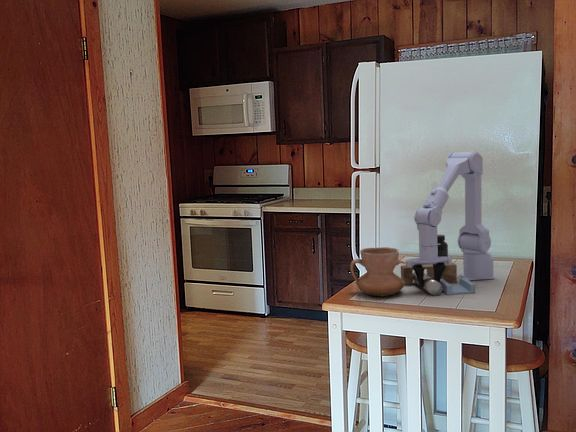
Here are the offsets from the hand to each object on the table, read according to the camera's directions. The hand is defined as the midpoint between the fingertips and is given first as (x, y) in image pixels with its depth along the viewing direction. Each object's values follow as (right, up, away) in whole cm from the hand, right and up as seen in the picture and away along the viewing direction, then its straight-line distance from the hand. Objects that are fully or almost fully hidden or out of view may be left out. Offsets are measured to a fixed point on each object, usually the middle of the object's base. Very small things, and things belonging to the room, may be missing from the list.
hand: (429, 286), depth 176 cm
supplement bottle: (+13, +3, +34) cm, 36 cm away
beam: (+3, 0, +11) cm, 11 cm away
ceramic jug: (-16, -2, +1) cm, 16 cm away
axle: (0, +1, +2) cm, 2 cm away
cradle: (+9, -1, -1) cm, 9 cm away
